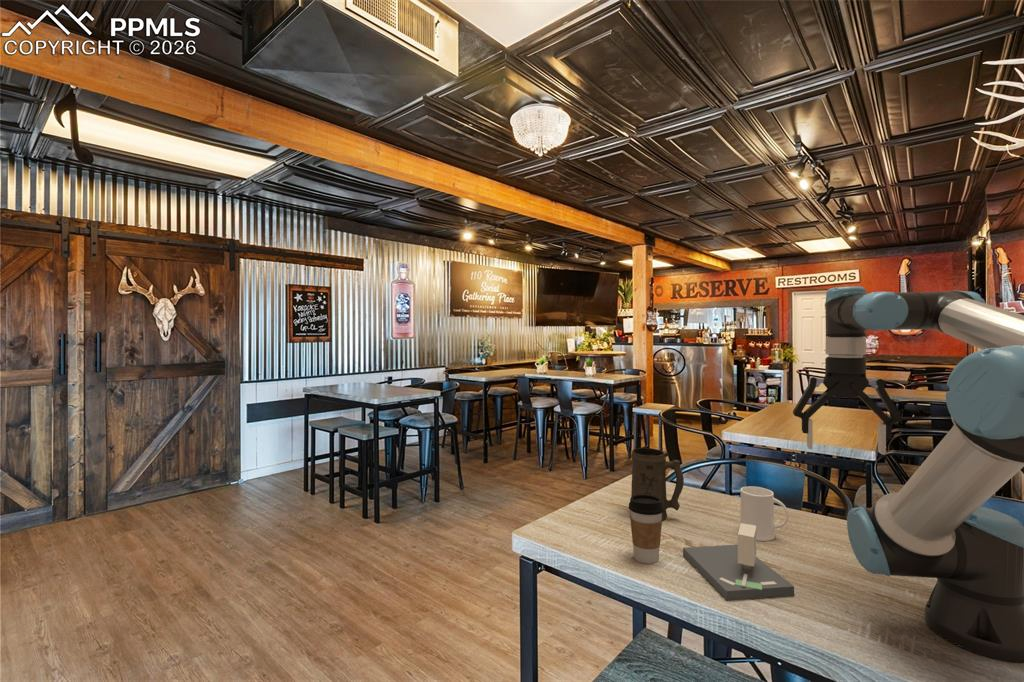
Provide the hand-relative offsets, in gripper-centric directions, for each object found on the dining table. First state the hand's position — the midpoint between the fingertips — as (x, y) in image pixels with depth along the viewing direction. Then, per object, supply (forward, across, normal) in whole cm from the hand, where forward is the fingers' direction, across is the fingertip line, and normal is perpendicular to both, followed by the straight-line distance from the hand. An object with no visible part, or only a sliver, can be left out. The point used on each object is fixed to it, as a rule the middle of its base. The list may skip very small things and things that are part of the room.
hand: (844, 450), depth 109 cm
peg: (+27, +20, +12) cm, 36 cm away
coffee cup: (+29, +42, +8) cm, 52 cm away
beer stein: (+29, +44, -20) cm, 56 cm away
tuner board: (+29, +23, +8) cm, 38 cm away
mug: (+29, +15, -17) cm, 37 cm away
